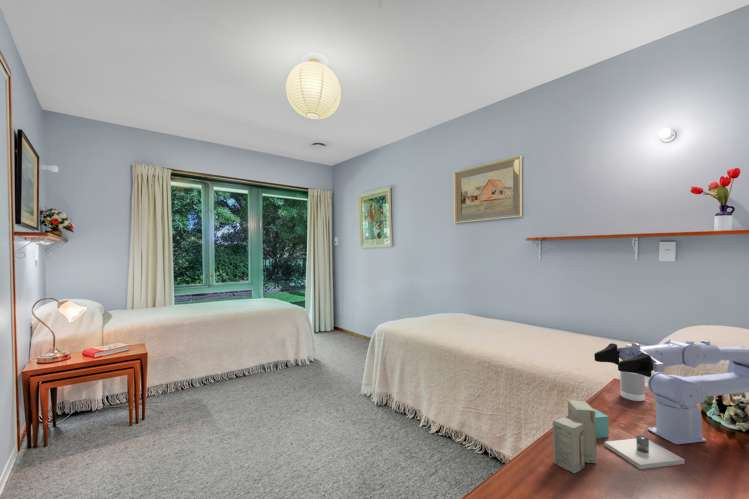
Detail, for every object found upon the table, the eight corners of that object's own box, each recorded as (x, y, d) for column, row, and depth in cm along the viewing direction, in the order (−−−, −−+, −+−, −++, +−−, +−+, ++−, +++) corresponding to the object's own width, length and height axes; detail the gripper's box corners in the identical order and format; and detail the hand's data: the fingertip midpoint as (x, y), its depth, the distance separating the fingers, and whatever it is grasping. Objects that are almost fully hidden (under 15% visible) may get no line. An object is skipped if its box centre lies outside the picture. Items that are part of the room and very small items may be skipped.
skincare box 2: (597, 464, 82) (596, 411, 82) (577, 462, 83) (576, 410, 83) (586, 449, 88) (586, 400, 88) (567, 447, 89) (567, 399, 89)
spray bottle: (626, 400, 117) (626, 346, 118) (616, 393, 124) (615, 341, 124) (649, 402, 116) (648, 347, 116) (637, 394, 123) (637, 342, 123)
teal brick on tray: (594, 428, 99) (593, 408, 99) (608, 437, 94) (608, 416, 94) (578, 429, 98) (578, 409, 98) (592, 438, 93) (591, 417, 93)
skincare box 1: (585, 468, 80) (585, 424, 80) (574, 474, 78) (573, 429, 78) (563, 457, 85) (563, 415, 85) (552, 462, 82) (551, 419, 83)
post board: (644, 441, 92) (644, 426, 92) (684, 463, 82) (684, 446, 82) (604, 445, 90) (604, 429, 90) (640, 469, 80) (640, 451, 80)
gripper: (628, 335, 101) (585, 339, 99) (678, 349, 87) (630, 354, 85) (629, 359, 101) (586, 364, 99) (679, 377, 87) (631, 384, 85)
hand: (606, 361), depth 92 cm, fingers open, 7 cm apart
